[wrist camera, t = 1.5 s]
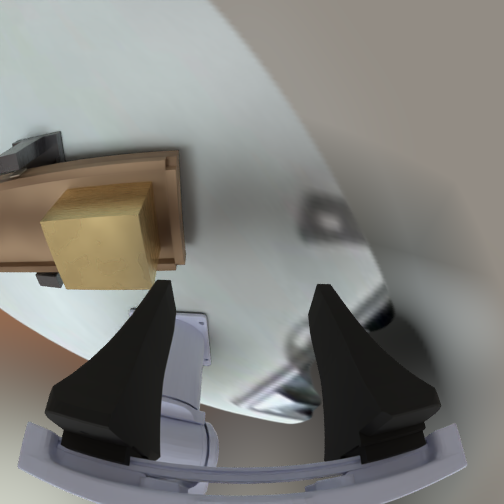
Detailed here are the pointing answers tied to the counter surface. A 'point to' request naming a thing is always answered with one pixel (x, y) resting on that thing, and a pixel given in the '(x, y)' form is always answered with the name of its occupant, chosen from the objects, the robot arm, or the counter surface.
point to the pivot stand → (31, 156)
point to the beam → (84, 175)
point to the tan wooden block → (105, 237)
